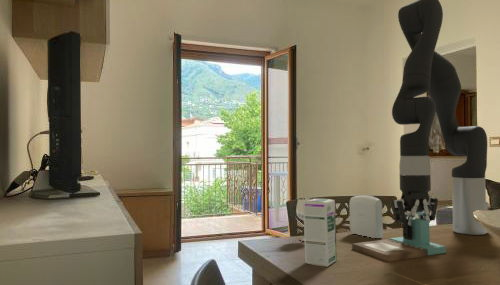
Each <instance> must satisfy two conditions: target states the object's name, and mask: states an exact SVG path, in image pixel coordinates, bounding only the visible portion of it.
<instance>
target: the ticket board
mask: <svg viewBox="0 0 500 285" xmlns="http://www.w3.org/2000/svg"><path fill="white" fill-rule="evenodd" d="M351 246H352V247H351V249H352V250H354V251H357V252H359V253H362V254H365V255H368V256H371V257H373V258H376V259H380V260H382V261H385V262H394V261H400V260H401V261H402V260H409V259H413V258H414V259H415V258H421V257H426V256H427V255H426V250H425V249H423V248H418V247H414V246H412V245H408V244H403V243H400V242H398V241H394V240H390V239H389V238H386V239H376V240H371V241H362V242H355V243H354V242H353V243H351Z"/></svg>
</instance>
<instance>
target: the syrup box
mask: <svg viewBox="0 0 500 285" xmlns="http://www.w3.org/2000/svg"><path fill="white" fill-rule="evenodd" d="M303 204H304V220H303V232H304V233H303V236H304V237H303V238H304V241H305V242H304V263H305V264H309V265H313V266H318V267H319V266H320V267H329V266H330V265H332V264H334V262H337V260H338V259H337V254H338V253H337V226H336V225H337V224H336V201H335V199H331V198H313V199H312V200H309V201H304V202H303Z"/></svg>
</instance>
